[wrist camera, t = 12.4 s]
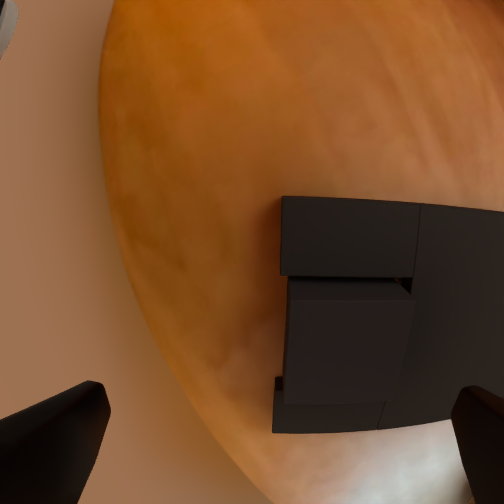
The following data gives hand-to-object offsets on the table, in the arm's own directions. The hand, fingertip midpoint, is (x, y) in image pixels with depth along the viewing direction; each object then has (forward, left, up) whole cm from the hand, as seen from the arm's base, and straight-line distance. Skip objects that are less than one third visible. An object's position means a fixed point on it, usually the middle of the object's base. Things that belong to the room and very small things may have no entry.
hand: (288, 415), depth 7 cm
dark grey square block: (+3, -3, -11) cm, 12 cm away
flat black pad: (+10, -3, -11) cm, 15 cm away
